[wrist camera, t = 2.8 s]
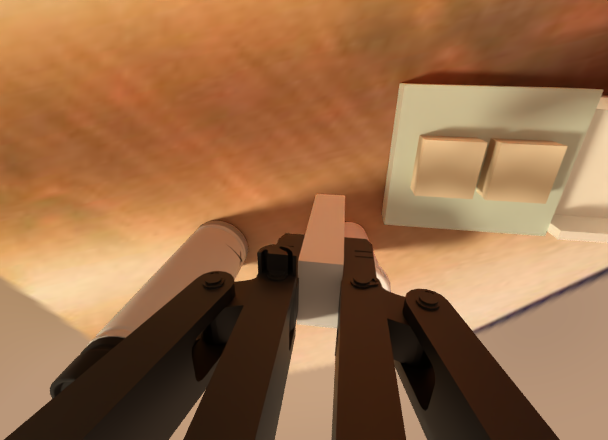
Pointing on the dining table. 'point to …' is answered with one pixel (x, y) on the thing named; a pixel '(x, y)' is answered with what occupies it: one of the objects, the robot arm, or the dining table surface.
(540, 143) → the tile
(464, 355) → the robot arm
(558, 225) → the tray
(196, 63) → the dining table surface
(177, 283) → the travel mug
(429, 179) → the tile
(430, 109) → the board
